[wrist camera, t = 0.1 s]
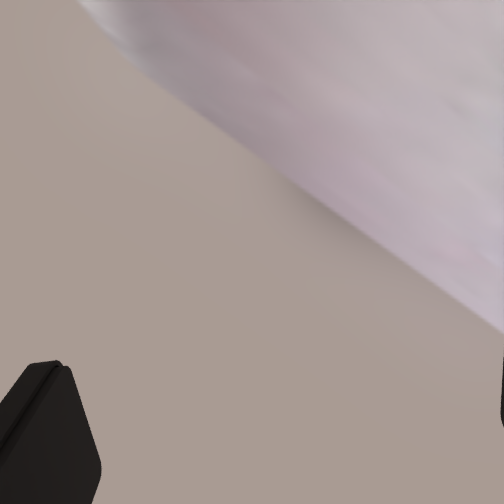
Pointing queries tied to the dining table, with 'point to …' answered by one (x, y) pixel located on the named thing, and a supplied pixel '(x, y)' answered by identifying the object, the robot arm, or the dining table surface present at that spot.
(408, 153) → the dining table surface
